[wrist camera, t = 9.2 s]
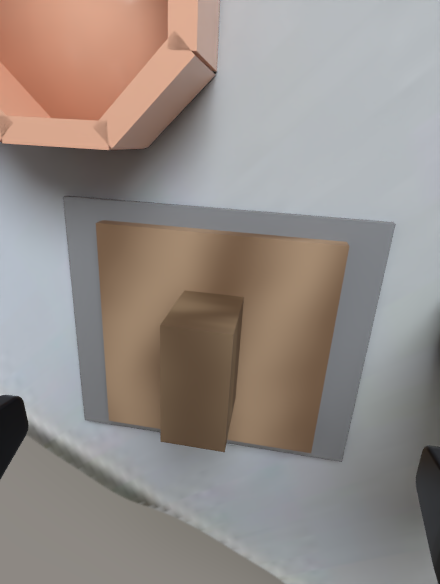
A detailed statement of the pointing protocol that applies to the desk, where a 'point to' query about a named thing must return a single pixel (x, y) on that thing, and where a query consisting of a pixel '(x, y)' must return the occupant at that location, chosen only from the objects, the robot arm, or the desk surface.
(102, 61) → the bowl
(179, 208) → the mat
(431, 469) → the robot arm
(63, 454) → the desk surface
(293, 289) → the cover
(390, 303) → the desk surface
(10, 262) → the desk surface
